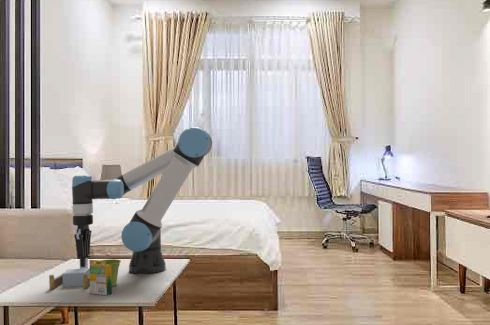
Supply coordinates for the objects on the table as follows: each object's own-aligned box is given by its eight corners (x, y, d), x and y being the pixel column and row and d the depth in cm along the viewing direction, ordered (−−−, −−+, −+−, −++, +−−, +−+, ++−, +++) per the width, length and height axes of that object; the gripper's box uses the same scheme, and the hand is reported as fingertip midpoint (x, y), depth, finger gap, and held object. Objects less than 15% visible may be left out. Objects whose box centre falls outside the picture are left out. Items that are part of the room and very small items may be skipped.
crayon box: (112, 293, 168) (111, 259, 168) (106, 295, 165) (105, 260, 166) (95, 291, 171) (94, 258, 171) (89, 293, 169) (88, 259, 169)
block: (90, 281, 189) (89, 268, 189) (85, 286, 181) (84, 272, 181) (68, 282, 188) (68, 269, 188) (62, 287, 180) (62, 273, 180)
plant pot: (126, 283, 183) (125, 259, 183) (111, 289, 174) (111, 264, 174) (105, 281, 186) (104, 258, 186) (89, 287, 177) (88, 263, 178)
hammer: (99, 280, 189) (98, 267, 189) (87, 288, 176) (86, 274, 176) (63, 281, 190) (63, 268, 190) (48, 289, 176) (48, 275, 176)
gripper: (79, 213, 200) (80, 271, 200) (67, 216, 187) (68, 278, 187) (97, 212, 200) (98, 271, 200) (86, 216, 187) (87, 278, 187)
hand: (84, 274), depth 193 cm, fingers closed
